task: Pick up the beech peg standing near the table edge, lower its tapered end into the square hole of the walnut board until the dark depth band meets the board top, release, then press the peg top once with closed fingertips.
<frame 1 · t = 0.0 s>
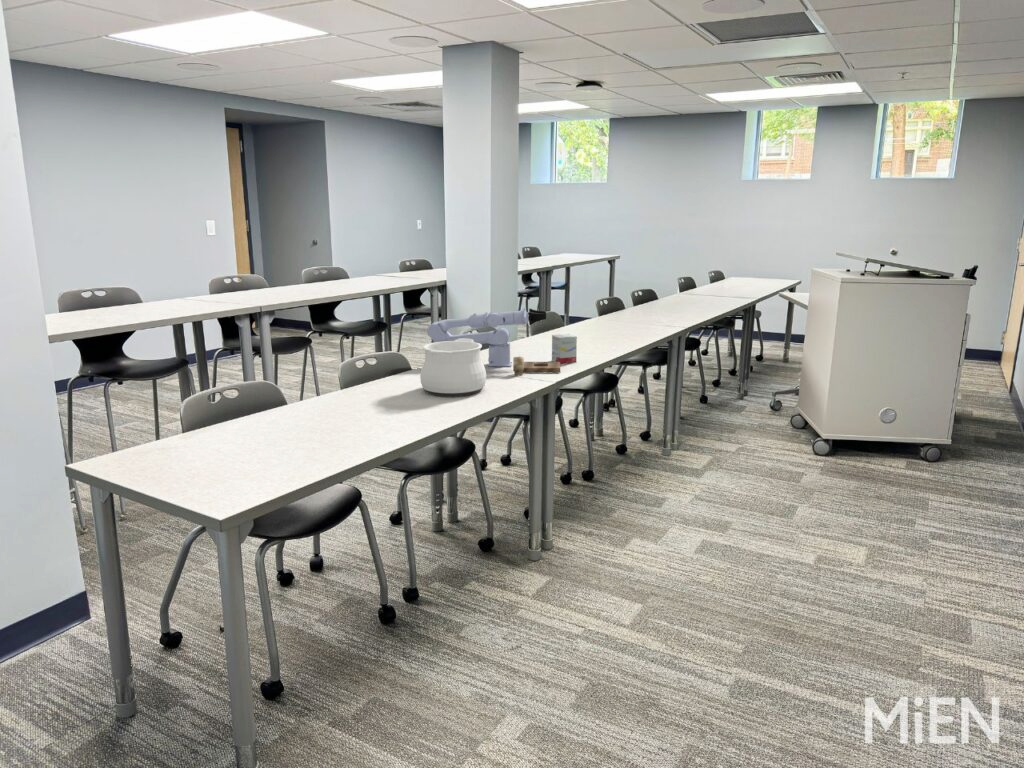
hand: (546, 315, 305), 22 cm above the table, tool horizontal, fingers open, 7 cm apart
ink box: (564, 362, 317), on the table
pot: (453, 391, 267), on the table
board: (540, 369, 301), on the table
peg: (518, 374, 292), on the table
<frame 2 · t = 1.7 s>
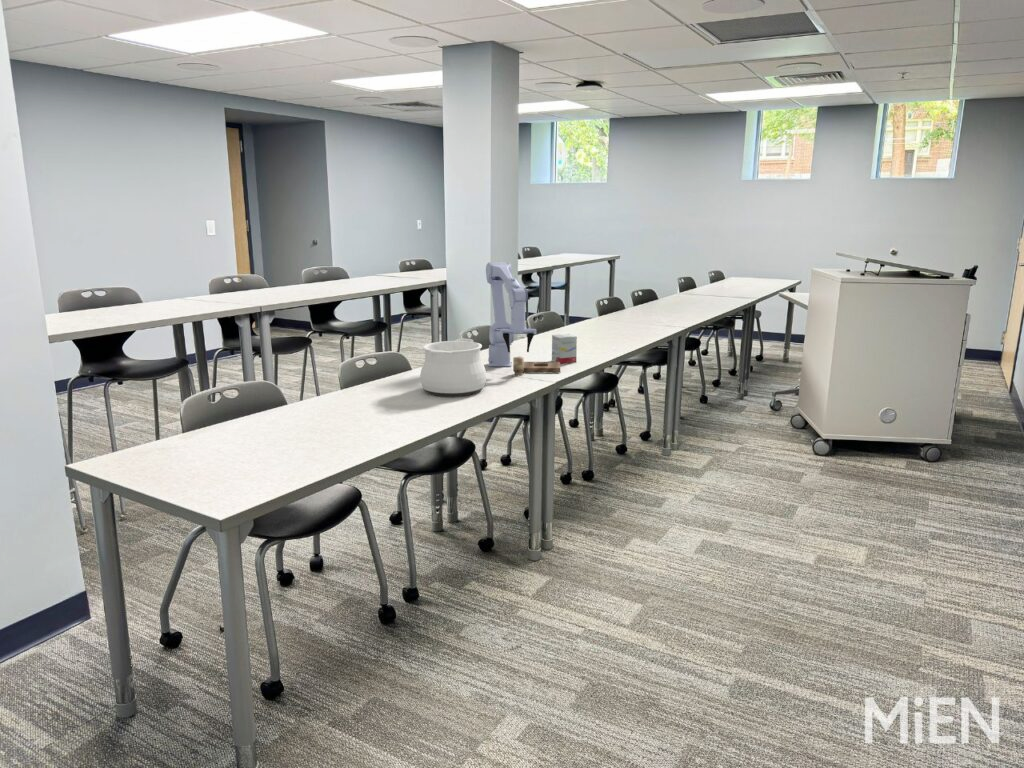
hand: (518, 351, 290), 9 cm above the table, tool pointing down, fingers open, 7 cm apart
nothing on the table moved.
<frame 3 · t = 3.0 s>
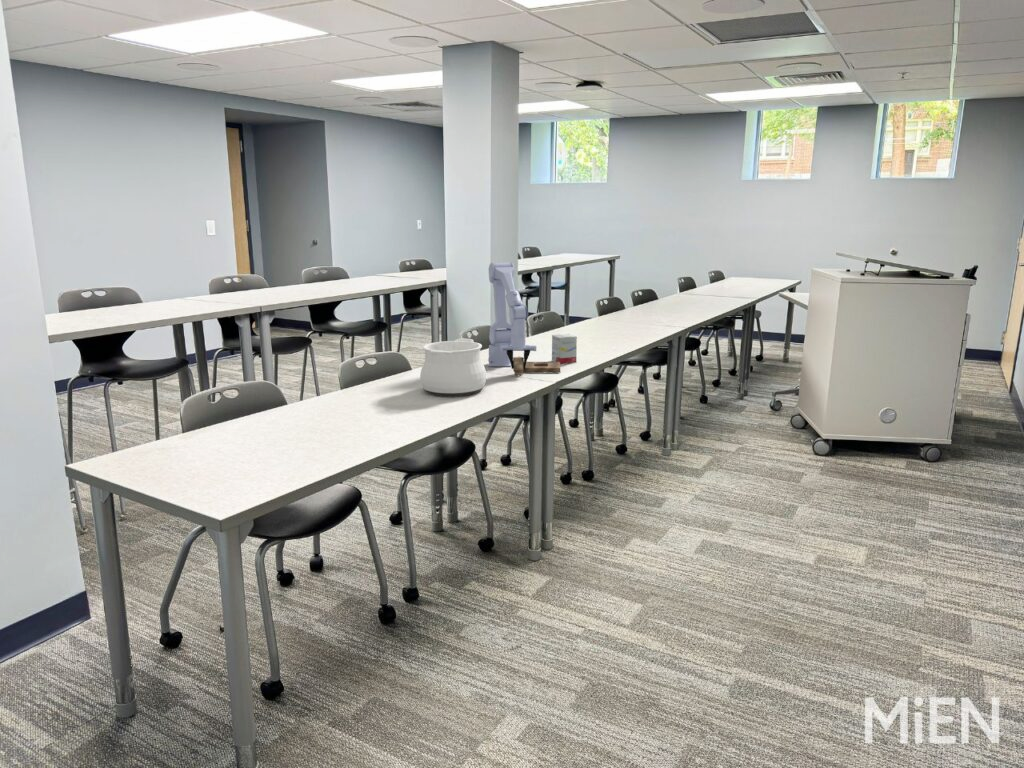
hand: (518, 368, 291), 3 cm above the table, tool pointing down, fingers closed on peg, 4 cm apart
peg: (518, 374, 292), on the table, touching gripper
everything else where it was.
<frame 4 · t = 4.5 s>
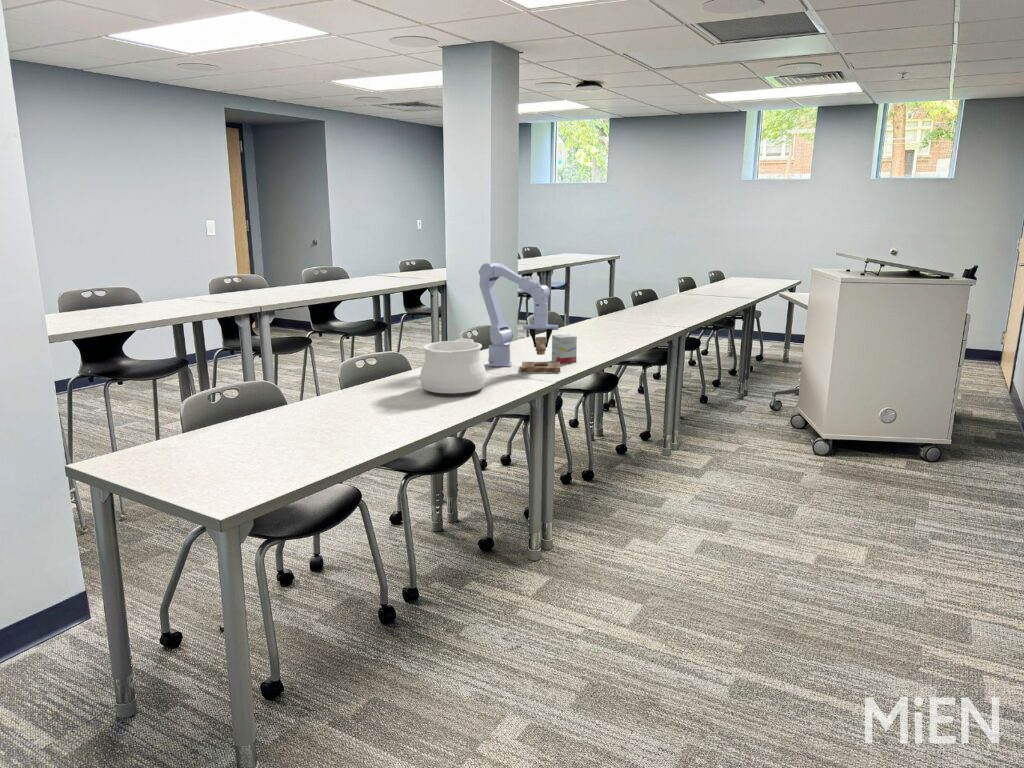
hand: (540, 347, 299), 10 cm above the table, tool pointing down, fingers closed on peg, 4 cm apart
peg: (540, 354, 299), point 7 cm above the table, touching gripper
everything else where it was.
when the fingers open (3 cm above the table, at t = 6.1 s): peg stays where it is, resting in board.
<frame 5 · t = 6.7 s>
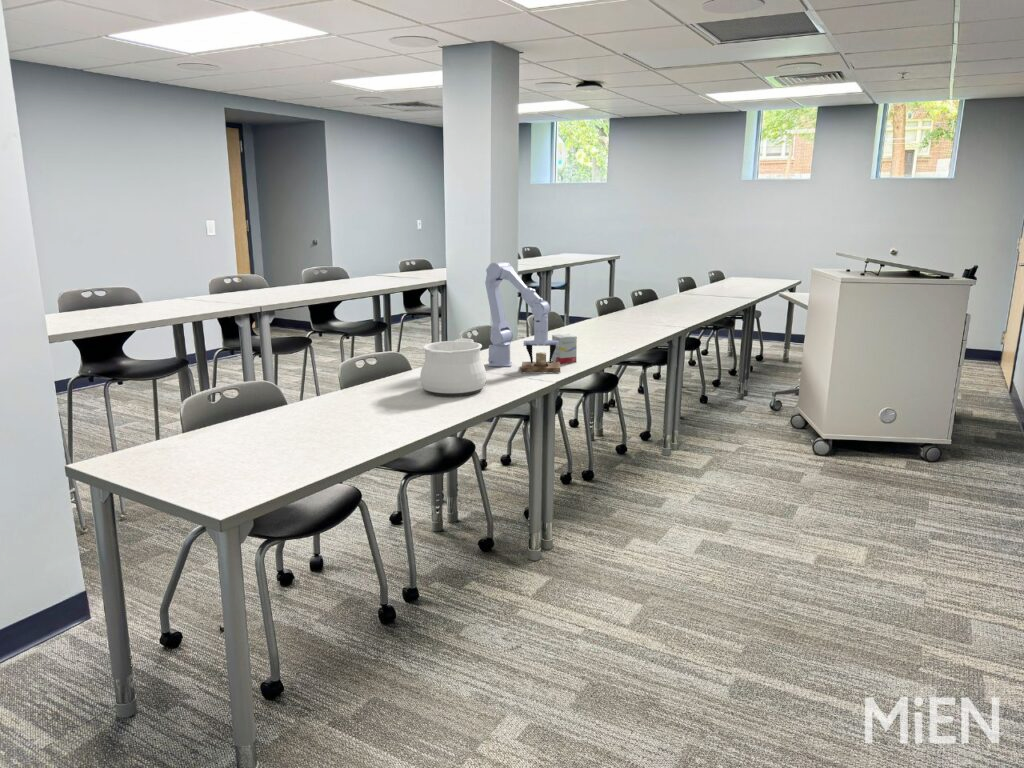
hand: (540, 362, 301), 3 cm above the table, tool pointing down, fingers open, 7 cm apart
peg: (541, 369, 301), resting in board
everything else where it was.
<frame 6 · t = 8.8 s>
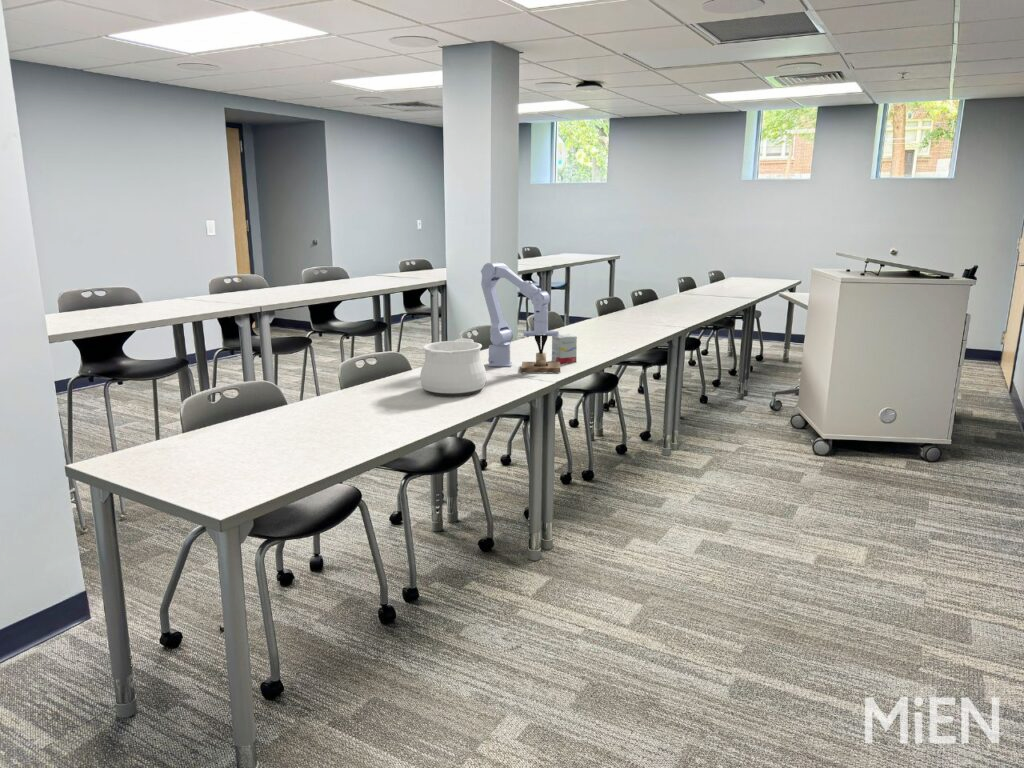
hand: (541, 353, 300), 7 cm above the table, tool pointing down, fingers closed, pressing on peg
peg: (541, 369, 301), resting in board, touching gripper
everything else where it was.
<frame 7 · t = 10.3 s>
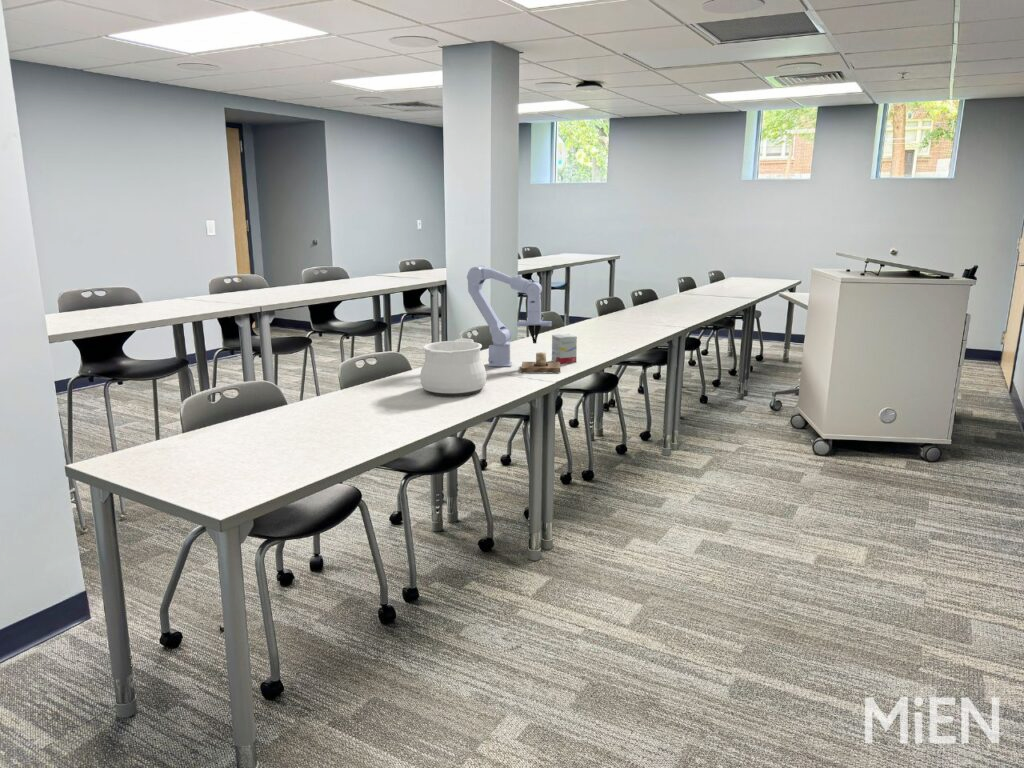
hand: (534, 343, 305), 10 cm above the table, tool pointing down, fingers closed
peg: (541, 369, 301), resting in board
everything else where it was.
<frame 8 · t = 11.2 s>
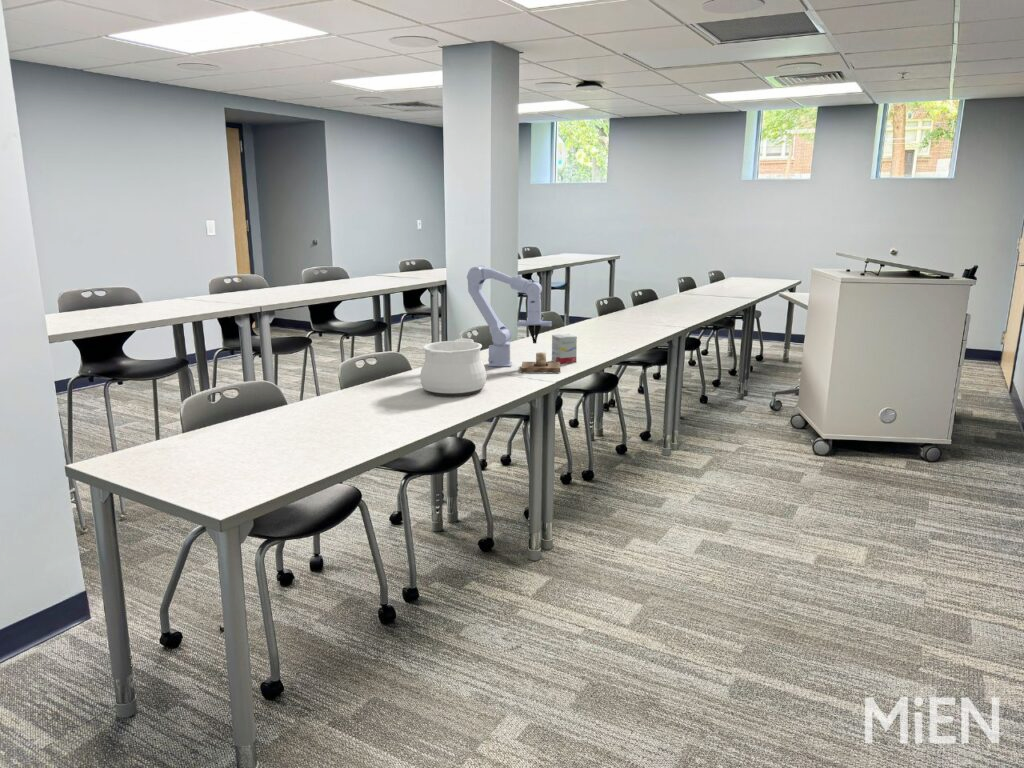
hand: (534, 343, 305), 10 cm above the table, tool pointing down, fingers closed
nothing on the table moved.
at the end: peg 0.4 cm off-centre on the board, point 0.0 cm above the board's base; peg tilted 0°; the gripper is holding nothing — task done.
